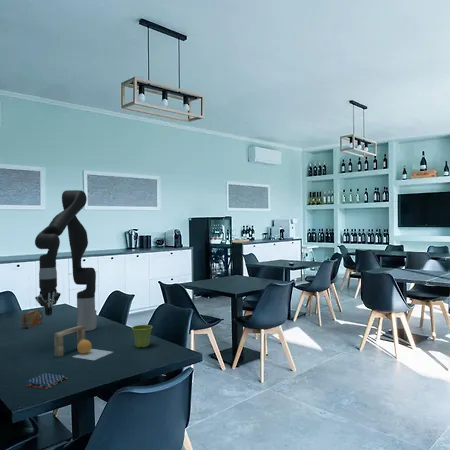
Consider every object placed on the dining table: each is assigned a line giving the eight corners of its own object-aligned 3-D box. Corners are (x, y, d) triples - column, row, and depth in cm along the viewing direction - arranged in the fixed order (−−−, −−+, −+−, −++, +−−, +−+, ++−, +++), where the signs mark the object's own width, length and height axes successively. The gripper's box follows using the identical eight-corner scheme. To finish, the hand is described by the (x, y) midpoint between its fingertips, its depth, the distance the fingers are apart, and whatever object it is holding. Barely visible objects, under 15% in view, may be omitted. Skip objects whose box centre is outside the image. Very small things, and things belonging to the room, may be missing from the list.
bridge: (54, 355, 179) (54, 333, 179) (80, 346, 193) (80, 325, 193) (59, 356, 178) (59, 333, 178) (85, 347, 192) (85, 325, 192)
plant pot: (145, 341, 199) (145, 323, 199) (156, 345, 192) (156, 326, 192) (128, 346, 192) (127, 327, 192) (139, 350, 186) (139, 330, 186)
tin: (26, 329, 227) (25, 313, 227) (20, 329, 228) (20, 313, 228) (43, 322, 242) (43, 308, 242) (38, 322, 243) (38, 308, 243)
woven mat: (23, 387, 146) (23, 381, 146) (46, 377, 156) (46, 371, 156) (46, 391, 142) (46, 385, 142) (68, 380, 152) (68, 374, 152)
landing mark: (92, 349, 188) (92, 348, 188) (113, 352, 183) (113, 351, 183) (72, 357, 177) (72, 356, 177) (94, 360, 172) (94, 360, 172)
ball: (83, 339, 186) (92, 336, 183) (86, 352, 185) (96, 349, 183) (72, 343, 181) (81, 340, 178) (76, 357, 180) (85, 354, 177)
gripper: (42, 279, 183) (42, 319, 183) (65, 276, 195) (65, 313, 195) (30, 278, 187) (30, 317, 187) (53, 275, 199) (54, 311, 199)
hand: (48, 315), depth 191 cm, fingers closed
